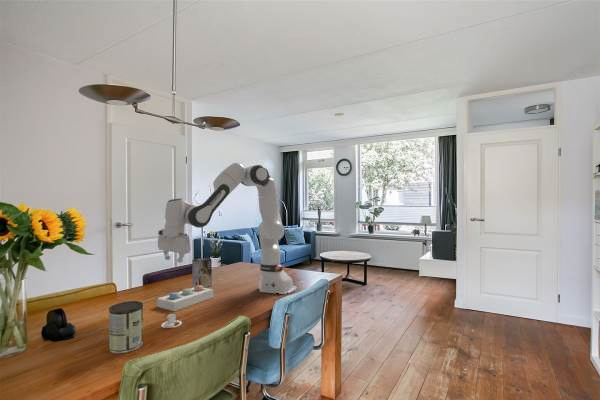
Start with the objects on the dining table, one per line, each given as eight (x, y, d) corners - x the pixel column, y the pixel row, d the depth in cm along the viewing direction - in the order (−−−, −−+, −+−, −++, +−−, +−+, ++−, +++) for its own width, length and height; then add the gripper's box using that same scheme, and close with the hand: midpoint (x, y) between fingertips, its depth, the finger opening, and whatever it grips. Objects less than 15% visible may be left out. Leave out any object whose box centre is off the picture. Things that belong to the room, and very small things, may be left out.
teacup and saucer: (170, 331, 121) (170, 320, 121) (154, 328, 124) (154, 318, 124) (186, 323, 129) (186, 313, 129) (171, 320, 132) (171, 310, 132)
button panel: (197, 293, 168) (197, 286, 168) (213, 297, 162) (213, 289, 162) (157, 306, 147) (157, 298, 147) (174, 311, 141) (174, 302, 141)
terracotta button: (204, 291, 162) (204, 285, 162) (198, 293, 158) (198, 287, 158) (198, 290, 164) (198, 284, 164) (192, 292, 161) (192, 286, 161)
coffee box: (205, 284, 187) (205, 257, 187) (212, 286, 183) (212, 258, 183) (192, 287, 180) (192, 259, 180) (198, 289, 176) (198, 261, 176)
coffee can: (119, 339, 112) (119, 301, 112) (148, 339, 113) (148, 300, 113) (102, 354, 102) (102, 311, 102) (133, 353, 103) (134, 310, 103)
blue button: (180, 299, 149) (180, 293, 149) (173, 301, 145) (173, 295, 145) (174, 298, 151) (174, 291, 151) (167, 300, 147) (167, 294, 147)
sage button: (193, 295, 156) (193, 289, 156) (186, 297, 152) (186, 291, 152) (187, 294, 158) (187, 288, 158) (180, 296, 154) (180, 290, 154)
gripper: (194, 233, 147) (193, 262, 146) (167, 230, 157) (166, 257, 157) (183, 234, 141) (182, 264, 141) (155, 231, 152) (154, 259, 152)
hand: (173, 261), depth 149 cm, fingers open, 8 cm apart
